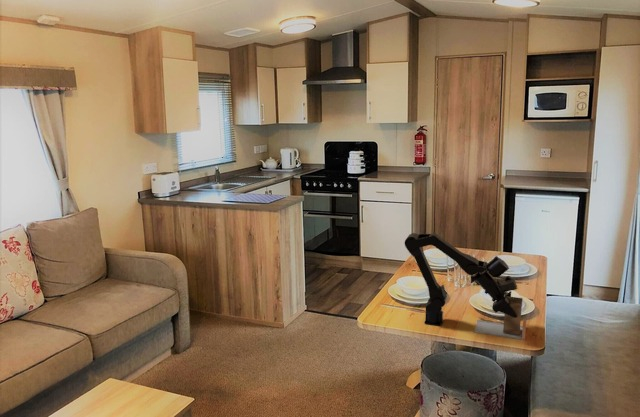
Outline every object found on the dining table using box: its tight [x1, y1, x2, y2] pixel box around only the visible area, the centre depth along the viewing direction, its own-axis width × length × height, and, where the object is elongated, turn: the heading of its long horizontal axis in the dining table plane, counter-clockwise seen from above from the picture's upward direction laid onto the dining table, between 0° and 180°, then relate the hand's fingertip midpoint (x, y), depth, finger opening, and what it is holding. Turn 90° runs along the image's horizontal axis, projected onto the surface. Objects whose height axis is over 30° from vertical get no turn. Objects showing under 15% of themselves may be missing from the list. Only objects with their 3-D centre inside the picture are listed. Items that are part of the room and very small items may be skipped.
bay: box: [473, 318, 527, 341], centre depth 205 cm, size 19×12×4 cm, turn 67°
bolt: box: [474, 276, 507, 284], centre depth 254 cm, size 6×5×15 cm
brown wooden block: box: [503, 296, 523, 335], centre depth 202 cm, size 6×6×13 cm
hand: (516, 314), depth 202 cm, fingers closed on brown wooden block, 6 cm apart
